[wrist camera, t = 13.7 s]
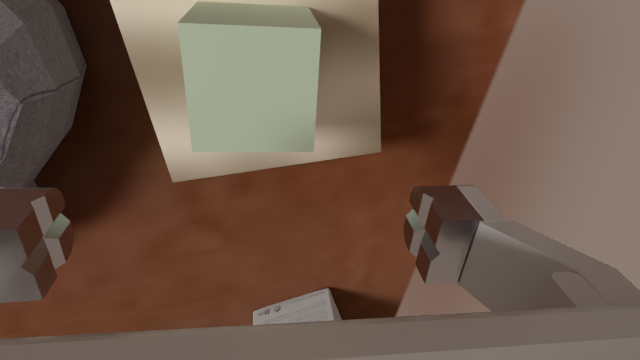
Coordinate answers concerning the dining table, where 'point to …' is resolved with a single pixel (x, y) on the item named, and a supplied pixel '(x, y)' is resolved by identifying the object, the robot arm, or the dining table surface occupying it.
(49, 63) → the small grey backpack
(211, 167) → the wooden block
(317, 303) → the supplement box
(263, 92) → the sage cube
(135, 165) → the dining table surface
